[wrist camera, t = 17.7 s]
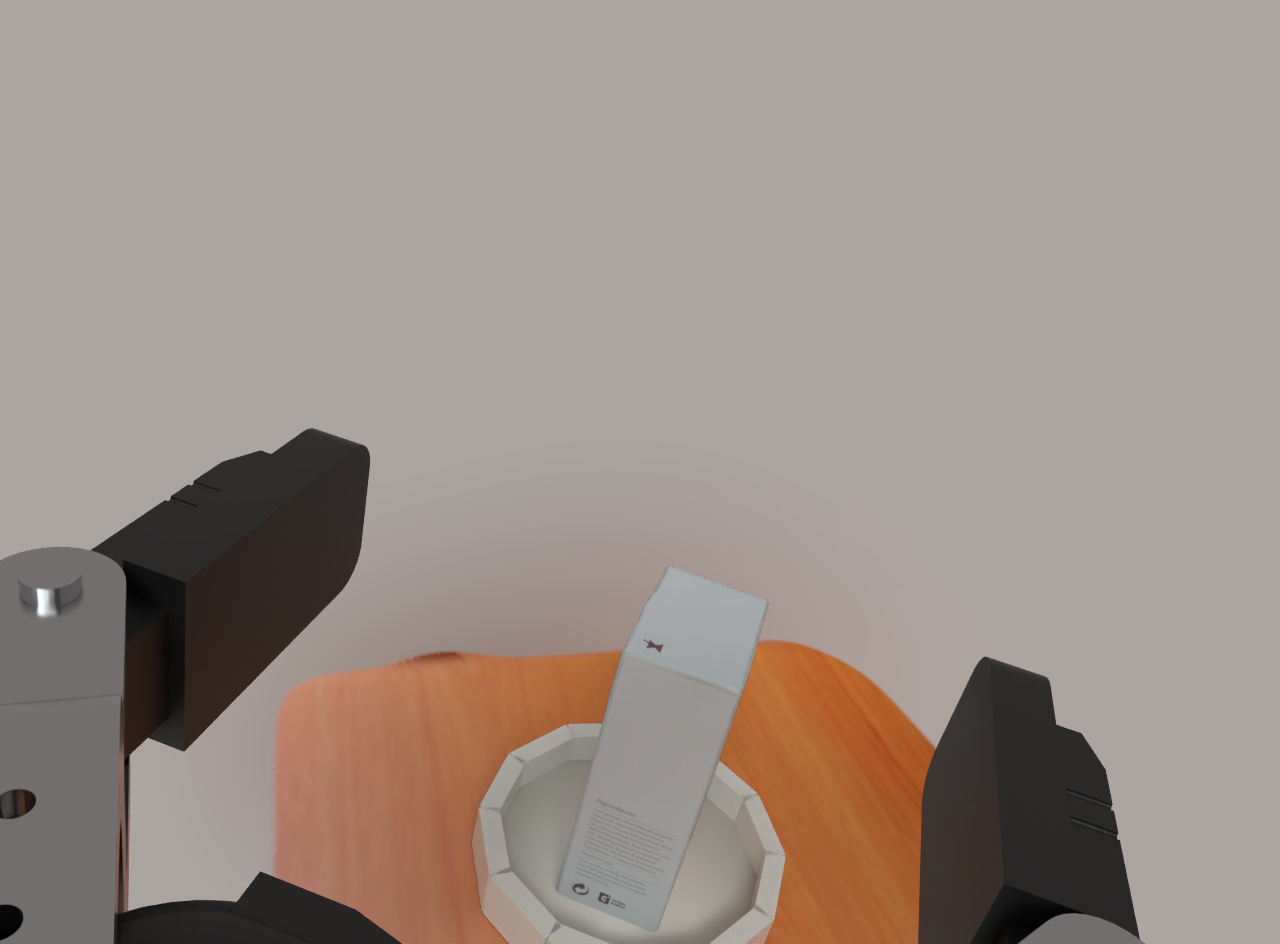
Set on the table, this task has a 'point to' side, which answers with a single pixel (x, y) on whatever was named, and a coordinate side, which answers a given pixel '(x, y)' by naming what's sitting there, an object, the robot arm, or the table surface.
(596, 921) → the bowl
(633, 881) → the skincare box
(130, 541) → the robot arm
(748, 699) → the table surface
